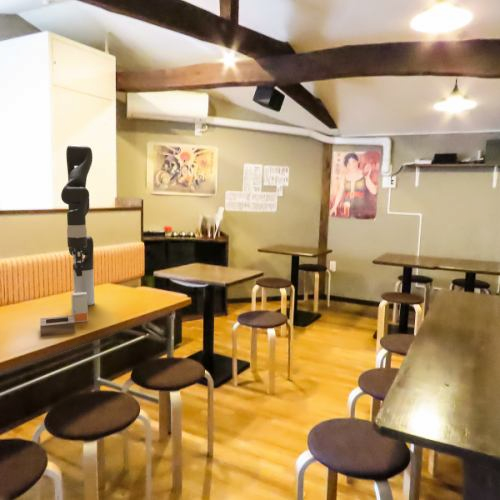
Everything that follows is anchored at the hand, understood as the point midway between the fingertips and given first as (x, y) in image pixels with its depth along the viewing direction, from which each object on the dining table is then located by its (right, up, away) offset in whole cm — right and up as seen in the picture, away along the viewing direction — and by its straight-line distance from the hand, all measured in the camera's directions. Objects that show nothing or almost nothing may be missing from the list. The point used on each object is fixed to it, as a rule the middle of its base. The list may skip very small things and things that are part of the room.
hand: (78, 274), depth 182 cm
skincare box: (0, -20, +3) cm, 20 cm away
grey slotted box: (-4, -21, -10) cm, 24 cm away
